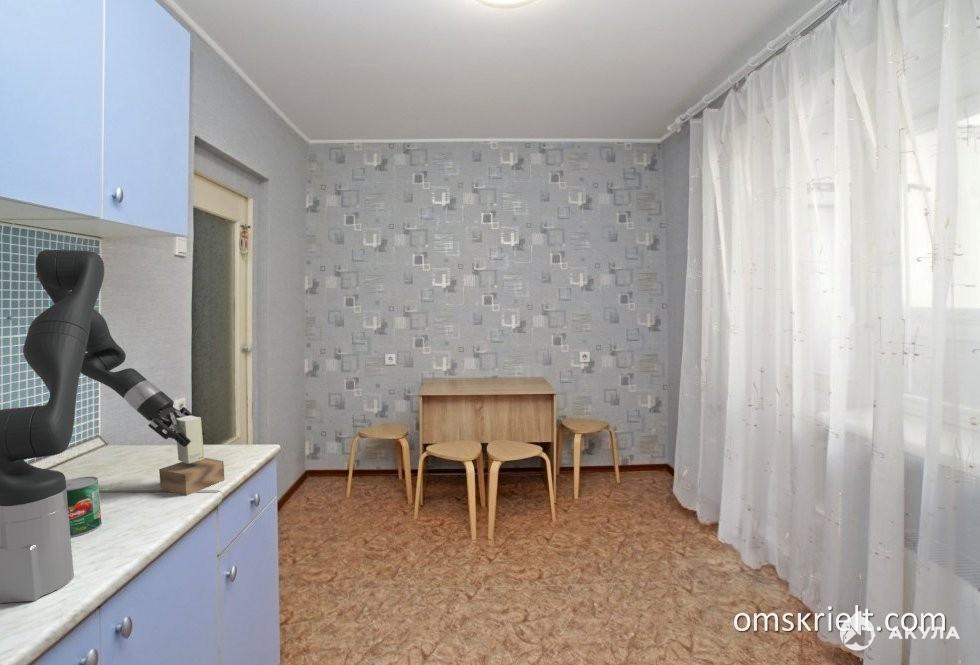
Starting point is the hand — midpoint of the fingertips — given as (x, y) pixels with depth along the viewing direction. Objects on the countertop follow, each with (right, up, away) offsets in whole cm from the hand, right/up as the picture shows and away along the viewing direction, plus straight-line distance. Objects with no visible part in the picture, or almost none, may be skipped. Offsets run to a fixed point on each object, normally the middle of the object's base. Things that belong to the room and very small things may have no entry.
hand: (195, 440), depth 128 cm
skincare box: (-1, -6, 0) cm, 6 cm away
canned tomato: (-11, -15, -24) cm, 30 cm away
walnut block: (-1, -13, +1) cm, 13 cm away
